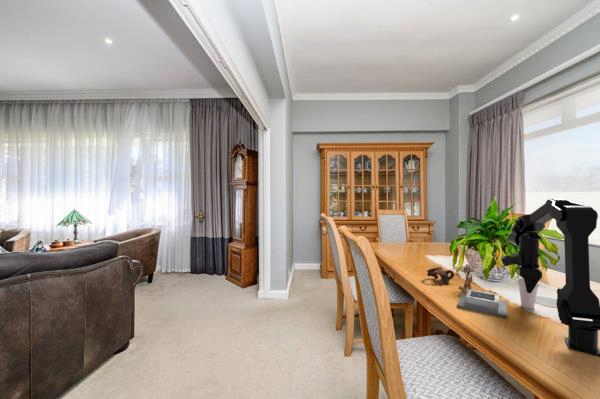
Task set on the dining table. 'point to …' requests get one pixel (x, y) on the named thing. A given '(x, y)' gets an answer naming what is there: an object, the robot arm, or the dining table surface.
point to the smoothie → (527, 295)
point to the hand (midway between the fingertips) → (527, 289)
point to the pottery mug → (441, 275)
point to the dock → (483, 303)
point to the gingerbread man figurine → (467, 279)
